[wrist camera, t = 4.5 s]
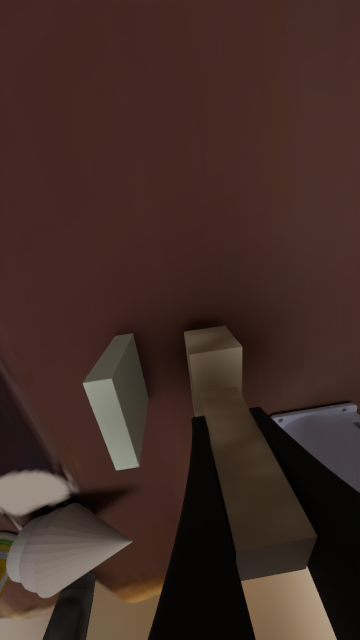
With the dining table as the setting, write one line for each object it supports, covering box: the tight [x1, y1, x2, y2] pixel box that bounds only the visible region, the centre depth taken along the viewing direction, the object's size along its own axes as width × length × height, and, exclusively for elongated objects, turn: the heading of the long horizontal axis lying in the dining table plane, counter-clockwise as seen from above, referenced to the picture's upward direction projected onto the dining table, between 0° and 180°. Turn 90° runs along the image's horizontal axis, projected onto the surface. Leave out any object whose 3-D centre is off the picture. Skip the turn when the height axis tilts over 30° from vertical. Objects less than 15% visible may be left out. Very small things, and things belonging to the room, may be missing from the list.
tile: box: [83, 333, 148, 470], centre depth 13 cm, size 2×7×6 cm, turn 7°
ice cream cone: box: [6, 503, 133, 598], centre depth 18 cm, size 6×6×15 cm
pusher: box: [184, 326, 317, 581], centre depth 10 cm, size 3×8×9 cm, turn 7°
